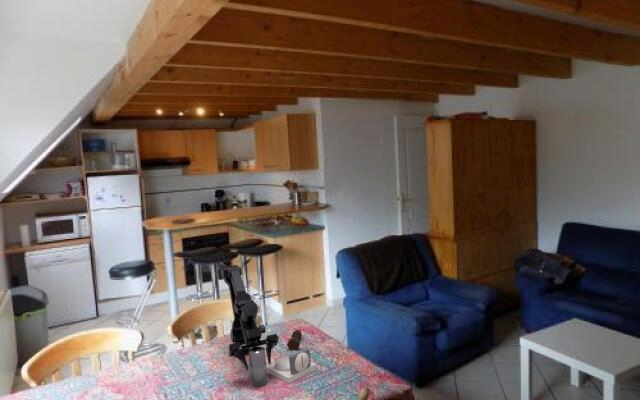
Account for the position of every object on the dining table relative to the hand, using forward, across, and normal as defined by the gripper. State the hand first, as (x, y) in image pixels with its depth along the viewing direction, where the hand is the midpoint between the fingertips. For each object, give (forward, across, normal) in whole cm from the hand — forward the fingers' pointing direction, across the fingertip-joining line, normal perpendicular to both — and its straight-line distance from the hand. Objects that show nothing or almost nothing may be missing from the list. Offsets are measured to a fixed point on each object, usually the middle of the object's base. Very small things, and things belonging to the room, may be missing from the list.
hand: (258, 366), depth 158 cm
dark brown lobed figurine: (-15, +24, +25) cm, 38 cm away
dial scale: (+2, +14, +8) cm, 16 cm away
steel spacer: (+4, 0, +6) cm, 7 cm away
